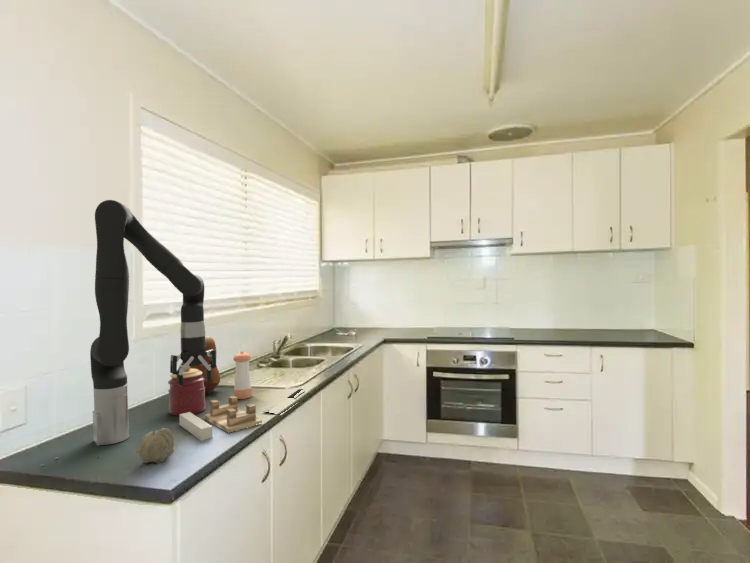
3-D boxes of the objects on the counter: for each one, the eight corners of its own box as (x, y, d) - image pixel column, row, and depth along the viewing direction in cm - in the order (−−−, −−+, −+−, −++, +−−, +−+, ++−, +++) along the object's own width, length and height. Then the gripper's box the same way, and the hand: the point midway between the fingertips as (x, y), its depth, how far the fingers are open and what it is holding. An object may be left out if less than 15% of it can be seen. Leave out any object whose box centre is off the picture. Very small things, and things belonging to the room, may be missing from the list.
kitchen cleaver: (286, 414, 162) (261, 409, 164) (285, 418, 162) (261, 413, 165) (317, 391, 193) (295, 387, 195) (316, 395, 193) (295, 391, 195)
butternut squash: (200, 388, 202) (199, 333, 202) (226, 390, 199) (225, 334, 198) (179, 396, 189) (178, 338, 188) (206, 398, 185) (205, 339, 185)
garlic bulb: (171, 463, 128) (183, 428, 130) (162, 471, 120) (175, 434, 122) (138, 455, 127) (151, 420, 129) (127, 463, 119) (141, 425, 121)
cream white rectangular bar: (212, 438, 141) (212, 426, 141) (201, 441, 139) (201, 429, 139) (189, 423, 156) (189, 411, 156) (179, 425, 154) (179, 414, 154)
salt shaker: (238, 400, 183) (237, 353, 182) (231, 396, 188) (230, 351, 188) (254, 396, 188) (253, 351, 187) (247, 393, 193) (246, 349, 192)
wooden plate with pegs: (261, 424, 153) (261, 405, 153) (228, 433, 145) (228, 413, 145) (236, 411, 168) (235, 394, 168) (204, 418, 160) (204, 400, 160)
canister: (192, 417, 162) (191, 369, 161) (161, 415, 164) (159, 368, 164) (212, 406, 175) (211, 361, 174) (183, 404, 177) (181, 360, 177)
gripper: (209, 331, 155) (210, 378, 155) (166, 336, 145) (167, 385, 145) (218, 333, 149) (219, 381, 149) (174, 338, 139) (175, 390, 140)
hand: (194, 383), depth 147 cm, fingers open, 8 cm apart
